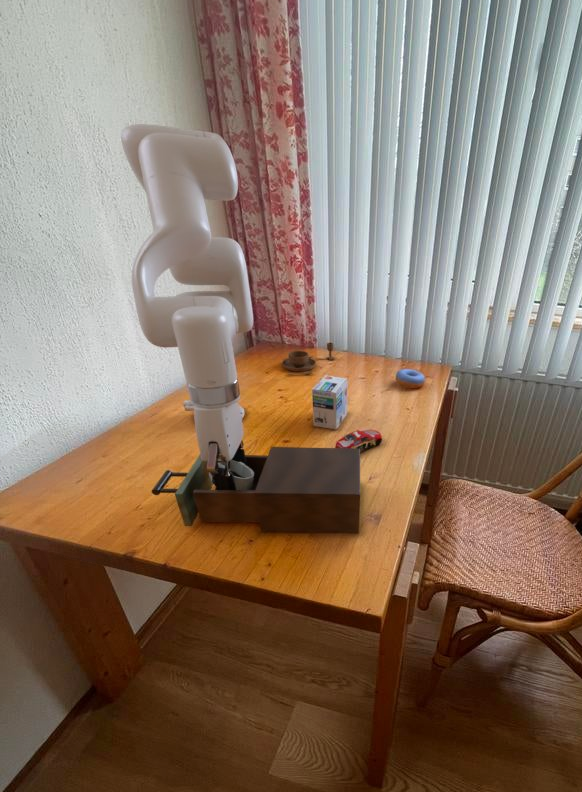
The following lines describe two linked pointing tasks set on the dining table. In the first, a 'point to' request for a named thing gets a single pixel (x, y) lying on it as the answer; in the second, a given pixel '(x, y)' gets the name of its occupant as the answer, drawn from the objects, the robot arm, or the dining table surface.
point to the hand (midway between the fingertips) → (232, 478)
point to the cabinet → (309, 491)
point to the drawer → (213, 494)
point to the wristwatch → (240, 470)
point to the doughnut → (410, 378)
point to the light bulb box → (329, 402)
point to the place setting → (303, 361)
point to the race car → (360, 440)
